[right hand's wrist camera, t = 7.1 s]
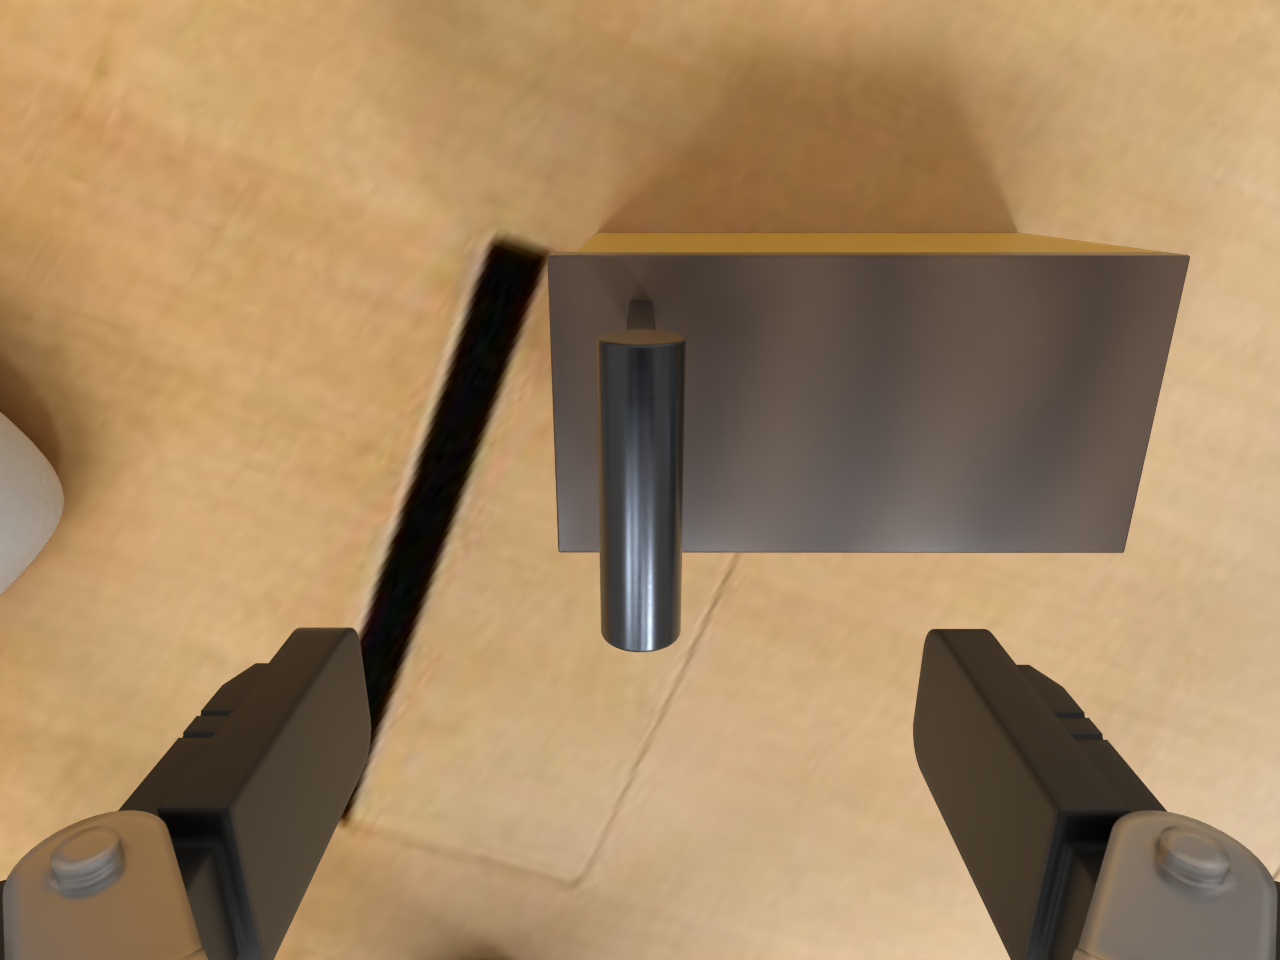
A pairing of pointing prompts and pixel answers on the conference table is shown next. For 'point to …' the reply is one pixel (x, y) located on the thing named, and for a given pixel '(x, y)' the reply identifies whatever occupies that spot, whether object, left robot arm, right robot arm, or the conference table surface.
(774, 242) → the chest
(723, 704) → the conference table surface
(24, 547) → the grey piece
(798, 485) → the lid
